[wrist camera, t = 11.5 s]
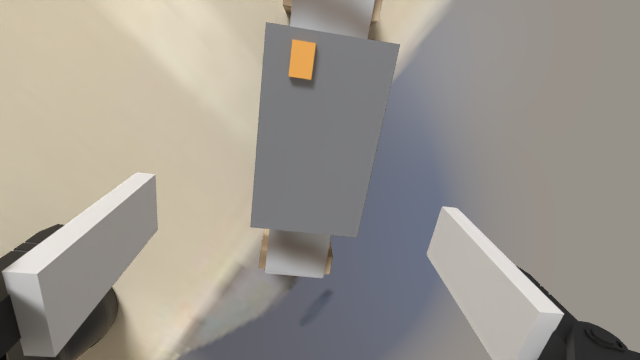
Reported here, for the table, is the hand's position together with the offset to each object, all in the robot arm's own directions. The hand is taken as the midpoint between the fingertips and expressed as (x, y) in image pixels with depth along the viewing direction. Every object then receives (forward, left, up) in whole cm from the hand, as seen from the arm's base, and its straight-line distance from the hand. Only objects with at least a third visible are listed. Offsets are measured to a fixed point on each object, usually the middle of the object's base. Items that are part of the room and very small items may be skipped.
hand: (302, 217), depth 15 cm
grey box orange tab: (+1, -1, -23) cm, 23 cm away
